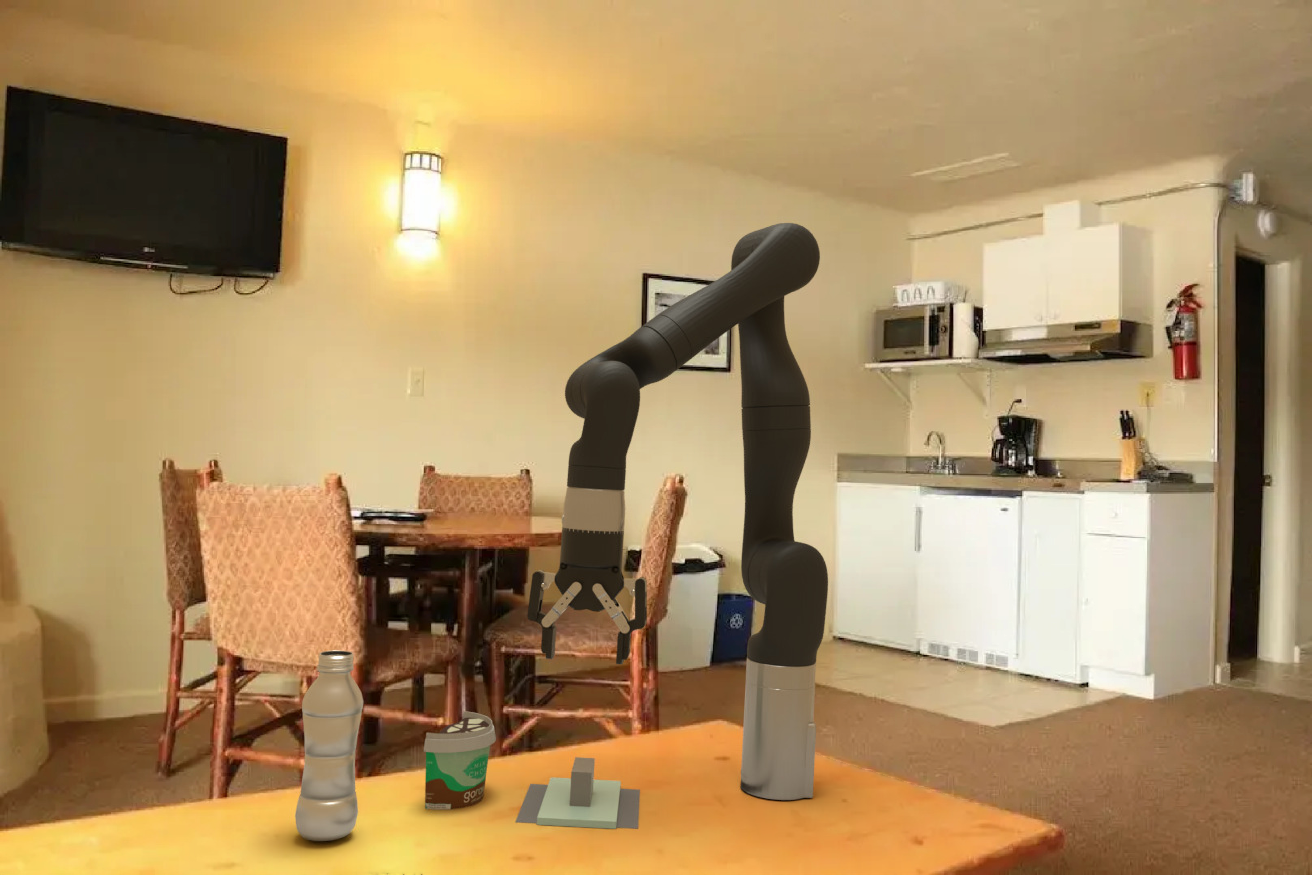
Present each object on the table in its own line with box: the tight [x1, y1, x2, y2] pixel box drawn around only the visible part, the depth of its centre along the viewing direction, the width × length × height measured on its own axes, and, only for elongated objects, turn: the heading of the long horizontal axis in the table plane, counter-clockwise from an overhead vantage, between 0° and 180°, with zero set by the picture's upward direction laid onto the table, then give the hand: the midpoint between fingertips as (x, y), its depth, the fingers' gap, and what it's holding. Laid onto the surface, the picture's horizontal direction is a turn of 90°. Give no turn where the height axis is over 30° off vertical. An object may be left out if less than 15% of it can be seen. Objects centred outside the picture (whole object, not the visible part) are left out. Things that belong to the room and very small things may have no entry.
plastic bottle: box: [294, 649, 364, 842], centre depth 112 cm, size 6×7×20 cm
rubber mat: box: [515, 783, 641, 830], centre depth 123 cm, size 14×14×1 cm
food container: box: [423, 710, 497, 811], centre depth 124 cm, size 12×6×10 cm, turn 168°
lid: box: [536, 756, 622, 830], centre depth 124 cm, size 9×15×5 cm, turn 0°
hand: (584, 660), depth 123 cm, fingers open, 8 cm apart
